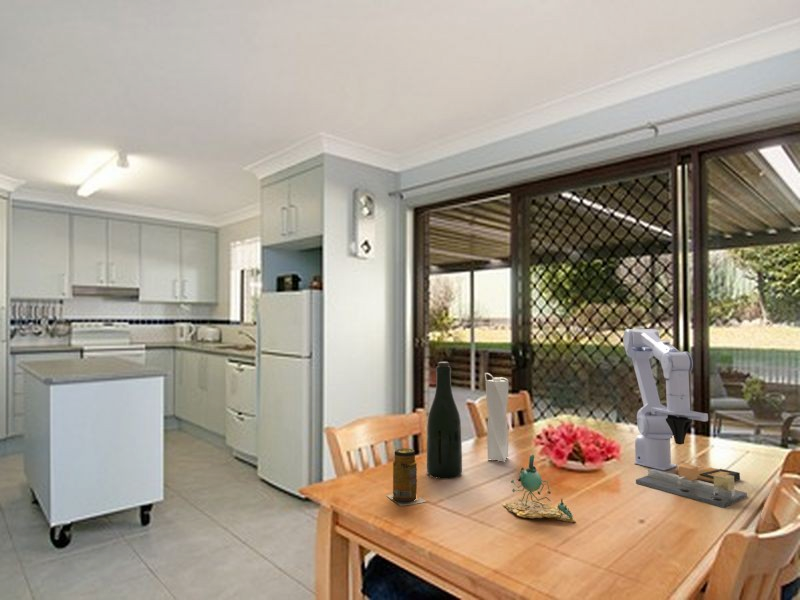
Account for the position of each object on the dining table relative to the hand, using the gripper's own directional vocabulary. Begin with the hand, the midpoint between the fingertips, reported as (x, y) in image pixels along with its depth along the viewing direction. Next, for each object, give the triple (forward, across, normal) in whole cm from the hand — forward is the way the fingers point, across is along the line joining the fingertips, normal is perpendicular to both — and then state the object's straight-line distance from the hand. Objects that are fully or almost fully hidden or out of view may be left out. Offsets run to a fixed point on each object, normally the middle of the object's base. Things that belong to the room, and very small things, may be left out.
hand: (679, 443), depth 138 cm
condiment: (+11, -34, -70) cm, 79 cm away
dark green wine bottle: (+11, -44, -50) cm, 67 cm away
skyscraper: (+10, -46, -26) cm, 53 cm away
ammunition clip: (+9, +8, +10) cm, 16 cm away
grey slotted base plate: (+11, +4, -5) cm, 13 cm away
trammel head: (+9, +4, -7) cm, 12 cm away
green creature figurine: (+11, -8, -52) cm, 53 cm away
